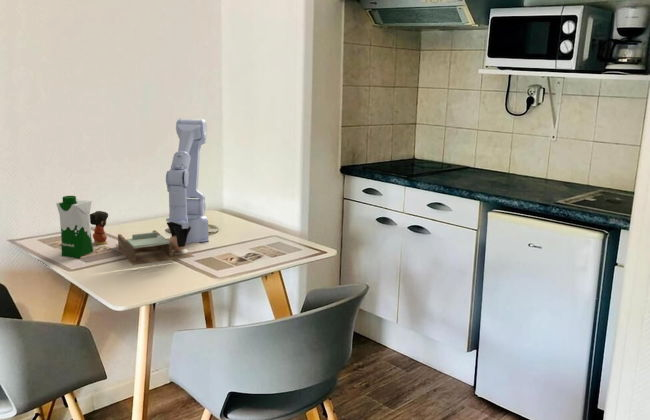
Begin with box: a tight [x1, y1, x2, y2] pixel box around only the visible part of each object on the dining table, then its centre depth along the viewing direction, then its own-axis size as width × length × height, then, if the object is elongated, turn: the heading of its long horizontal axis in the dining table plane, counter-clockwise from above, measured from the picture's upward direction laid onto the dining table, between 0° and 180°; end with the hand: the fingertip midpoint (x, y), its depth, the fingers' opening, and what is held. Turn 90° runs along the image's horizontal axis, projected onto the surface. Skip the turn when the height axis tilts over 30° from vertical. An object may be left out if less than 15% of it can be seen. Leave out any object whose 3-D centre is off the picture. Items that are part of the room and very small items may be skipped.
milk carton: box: [55, 195, 94, 259], centre depth 195 cm, size 9×9×20 cm
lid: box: [126, 231, 169, 248], centre depth 196 cm, size 12×9×2 cm
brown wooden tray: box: [115, 229, 195, 266], centre depth 202 cm, size 20×25×5 cm
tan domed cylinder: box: [169, 235, 186, 250], centre depth 200 cm, size 5×5×4 cm
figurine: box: [90, 210, 109, 246], centre depth 208 cm, size 6×6×12 cm
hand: (179, 244), depth 200 cm, fingers open, 5 cm apart
